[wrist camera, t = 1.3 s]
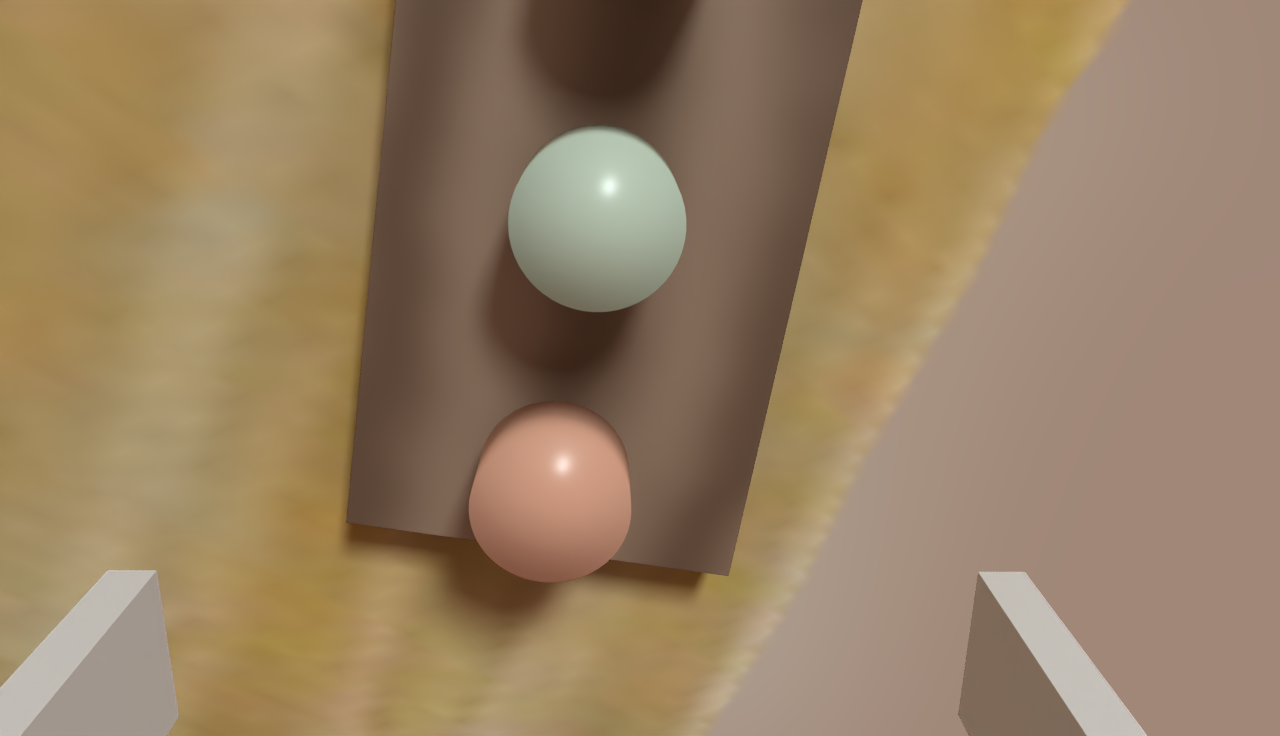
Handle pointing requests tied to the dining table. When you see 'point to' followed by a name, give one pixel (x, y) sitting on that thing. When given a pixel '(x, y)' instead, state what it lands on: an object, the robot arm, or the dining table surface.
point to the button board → (573, 339)
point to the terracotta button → (551, 492)
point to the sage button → (597, 219)
